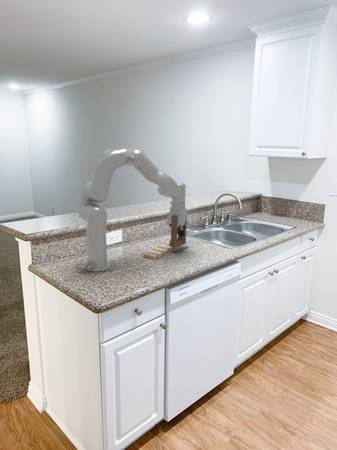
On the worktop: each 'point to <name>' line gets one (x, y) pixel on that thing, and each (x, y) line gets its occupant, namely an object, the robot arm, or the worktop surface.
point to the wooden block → (174, 231)
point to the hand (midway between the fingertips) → (177, 235)
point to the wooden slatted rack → (159, 251)
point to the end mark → (180, 249)
